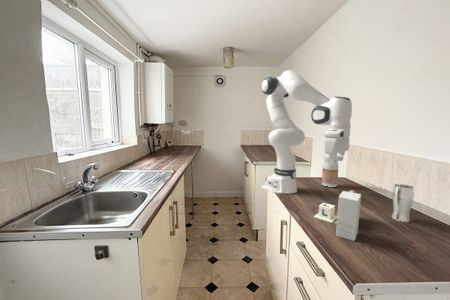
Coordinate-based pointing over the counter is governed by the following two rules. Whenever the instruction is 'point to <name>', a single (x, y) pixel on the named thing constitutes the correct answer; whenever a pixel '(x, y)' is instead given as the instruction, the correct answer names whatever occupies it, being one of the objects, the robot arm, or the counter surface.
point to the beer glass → (402, 201)
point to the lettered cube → (326, 211)
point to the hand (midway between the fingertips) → (336, 162)
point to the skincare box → (348, 215)
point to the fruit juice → (330, 172)
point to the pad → (325, 218)
